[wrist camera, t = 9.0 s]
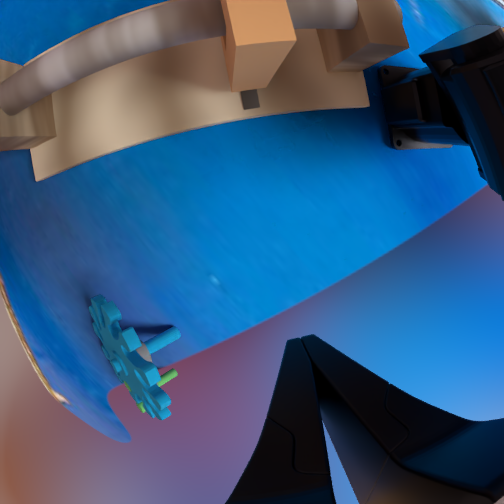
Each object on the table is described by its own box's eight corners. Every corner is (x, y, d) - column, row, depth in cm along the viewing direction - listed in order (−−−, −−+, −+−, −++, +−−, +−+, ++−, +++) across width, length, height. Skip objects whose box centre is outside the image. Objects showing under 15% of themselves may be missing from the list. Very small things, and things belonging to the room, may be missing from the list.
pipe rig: (332, -7, 14) (372, -55, 7) (363, 107, 17) (426, 93, 10) (30, 66, 13) (-27, 49, 6) (43, 179, 17) (-21, 197, 10)
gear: (71, 277, 18) (136, 363, 12) (136, 253, 22) (222, 313, 16) (104, 375, 23) (168, 450, 17) (152, 349, 27) (221, 411, 21)
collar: (244, -6, 12) (257, -80, 5) (265, 87, 14) (296, 40, 7) (212, -1, 12) (207, -75, 5) (231, 92, 14) (236, 45, 7)
